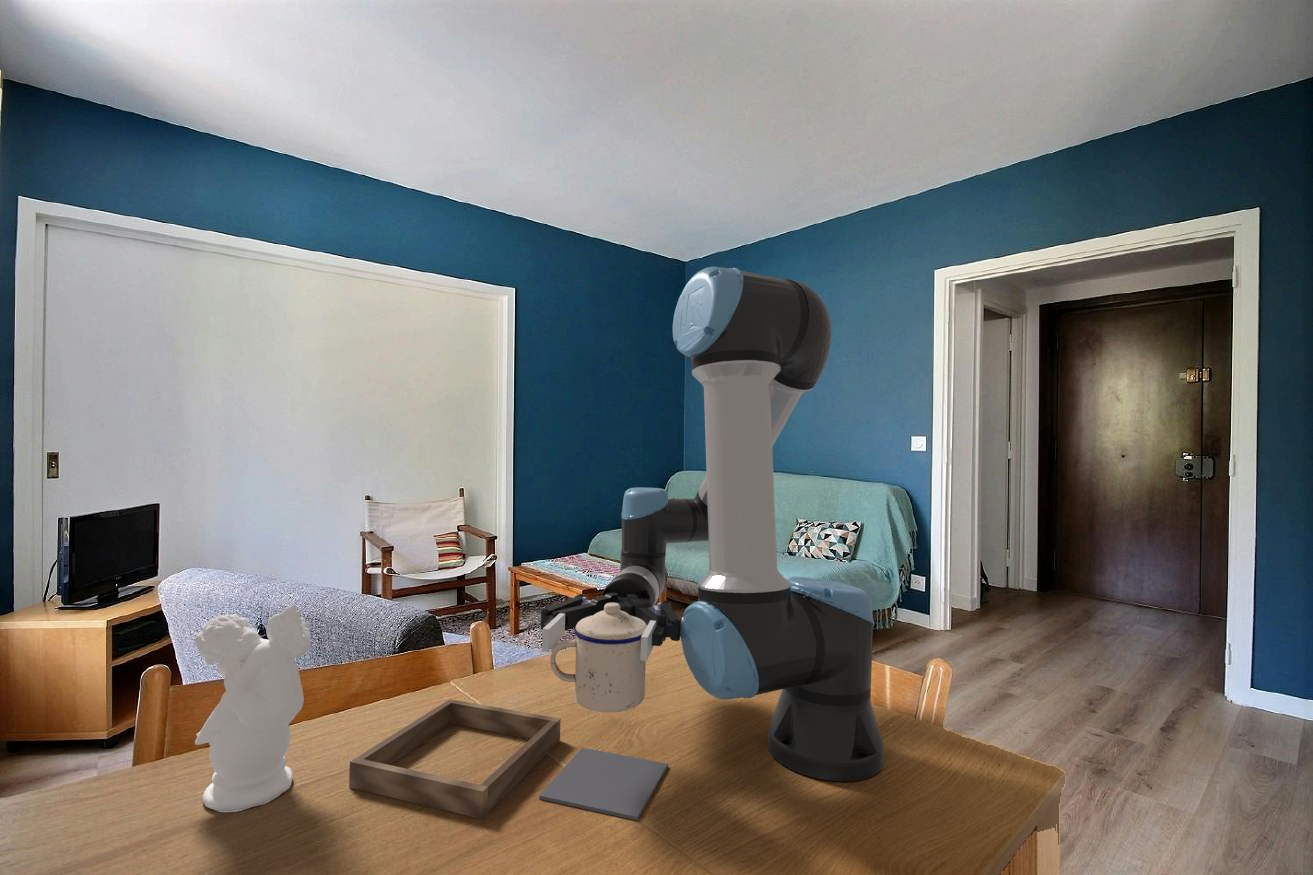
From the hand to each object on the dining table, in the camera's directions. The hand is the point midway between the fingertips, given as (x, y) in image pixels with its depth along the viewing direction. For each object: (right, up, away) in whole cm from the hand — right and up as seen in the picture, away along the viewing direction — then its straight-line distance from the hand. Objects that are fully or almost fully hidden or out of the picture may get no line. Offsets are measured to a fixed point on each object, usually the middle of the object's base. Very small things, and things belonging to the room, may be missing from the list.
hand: (594, 644), depth 72 cm
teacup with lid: (0, -8, +4) cm, 9 cm away
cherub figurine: (-39, -17, +1) cm, 43 cm away
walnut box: (-17, -17, +7) cm, 26 cm away
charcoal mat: (+1, -18, +3) cm, 18 cm away
